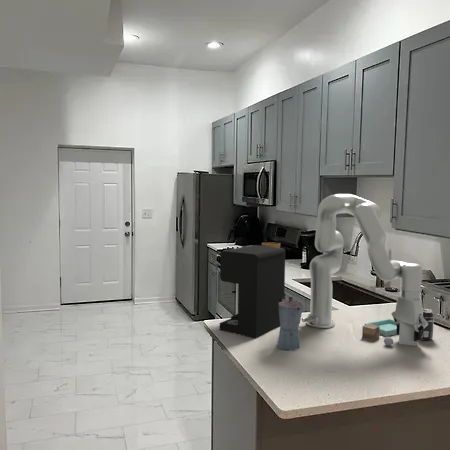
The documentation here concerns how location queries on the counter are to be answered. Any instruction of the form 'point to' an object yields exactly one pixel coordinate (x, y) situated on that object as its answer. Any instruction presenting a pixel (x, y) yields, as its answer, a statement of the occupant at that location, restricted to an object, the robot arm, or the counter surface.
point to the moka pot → (289, 324)
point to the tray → (386, 327)
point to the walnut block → (370, 332)
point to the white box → (407, 334)
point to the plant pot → (271, 244)
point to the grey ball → (388, 341)
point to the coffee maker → (254, 288)
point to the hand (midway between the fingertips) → (408, 337)
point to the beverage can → (428, 331)
